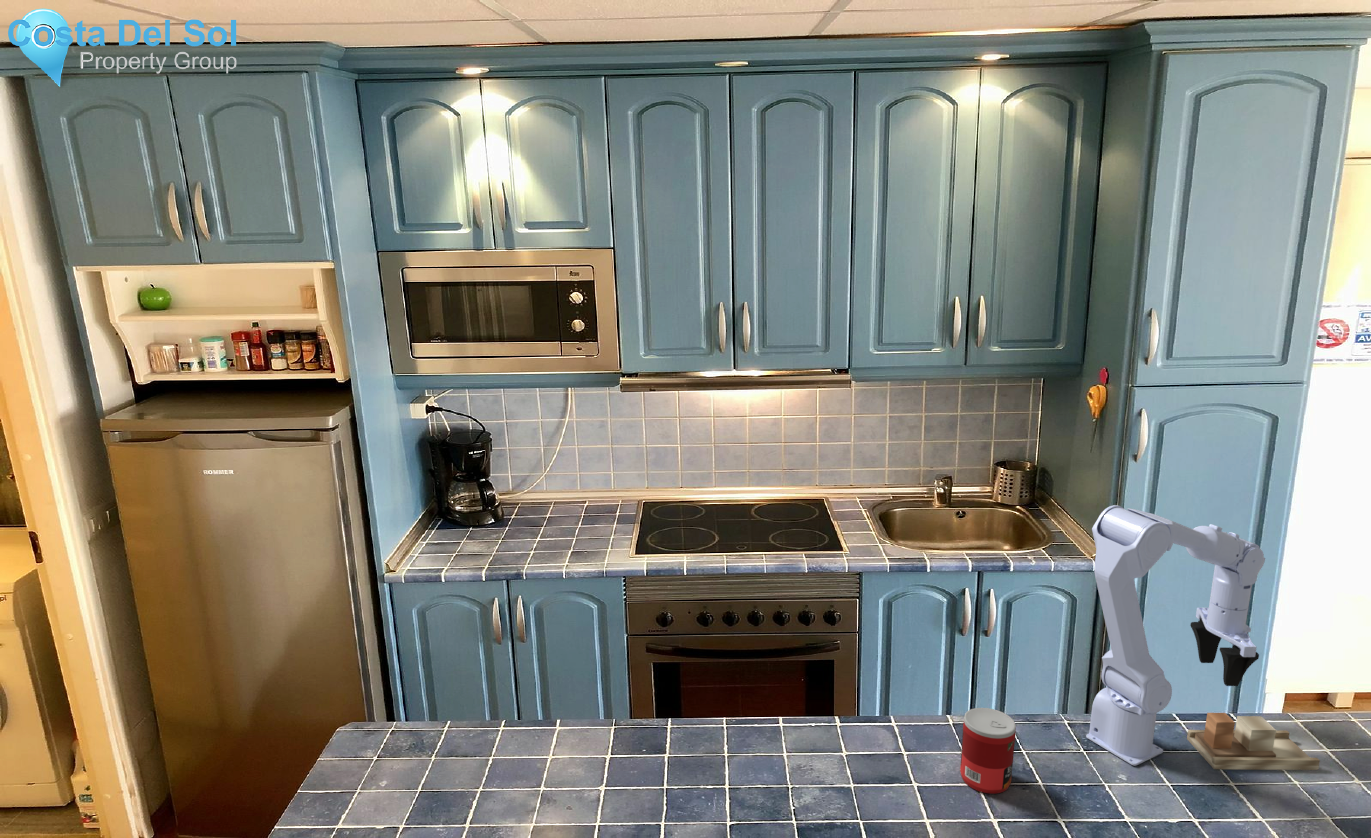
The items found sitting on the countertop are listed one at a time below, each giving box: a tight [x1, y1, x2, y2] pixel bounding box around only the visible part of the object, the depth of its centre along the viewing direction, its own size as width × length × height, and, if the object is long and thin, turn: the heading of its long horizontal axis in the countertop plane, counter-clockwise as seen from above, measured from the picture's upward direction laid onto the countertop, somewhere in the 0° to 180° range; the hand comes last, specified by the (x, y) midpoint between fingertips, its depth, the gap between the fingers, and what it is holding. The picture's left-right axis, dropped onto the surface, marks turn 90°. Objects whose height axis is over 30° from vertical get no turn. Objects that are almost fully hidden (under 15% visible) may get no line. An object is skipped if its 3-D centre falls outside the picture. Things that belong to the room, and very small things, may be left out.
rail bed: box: [1186, 729, 1321, 771], centre depth 145 cm, size 17×8×2 cm, turn 88°
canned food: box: [959, 707, 1017, 795], centre depth 138 cm, size 8×8×11 cm
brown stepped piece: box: [1195, 712, 1276, 757], centre depth 144 cm, size 10×6×6 cm, turn 88°
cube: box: [1234, 715, 1277, 751], centre depth 144 cm, size 4×4×4 cm
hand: (1218, 673), depth 151 cm, fingers open, 7 cm apart
